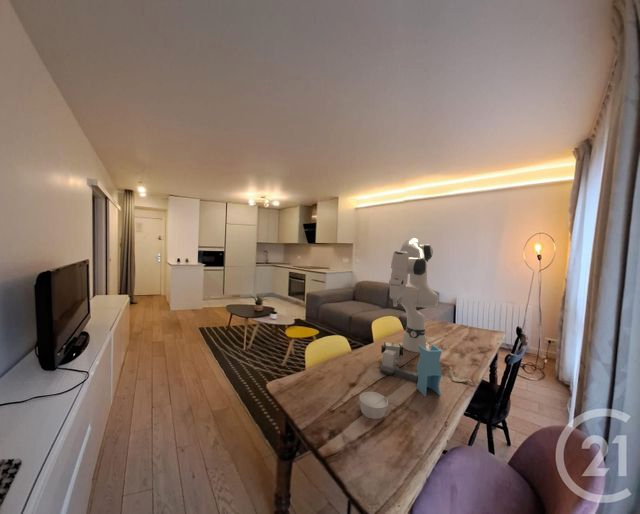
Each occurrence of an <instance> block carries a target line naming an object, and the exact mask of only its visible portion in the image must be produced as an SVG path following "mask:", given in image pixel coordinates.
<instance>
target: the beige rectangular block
mask: <svg viewBox="0 0 640 514" xmlns="http://www.w3.org/2000/svg"><path fill="white" fill-rule="evenodd" d="M382 363H383V364H382ZM382 363H381V364H382V366H384V367H388V368H391V369H393V368H394V367H395V365H396V366H397V358H396V352H395V351H391V350H387V349H386V350H385V351H384V352H383V353H382Z"/></svg>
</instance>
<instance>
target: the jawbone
mask: <svg viewBox="0 0 640 514" xmlns="http://www.w3.org/2000/svg"><path fill="white" fill-rule="evenodd" d="M448 368H449V371H448V372H447V375H448V377H449V379H450V381H451V382H454V383H463V384H466V385H468V384H469V382H470V383H471V384H472V383H474V381H473V380H471V379H470V378H459V377H457V376H456V374H455V371H453V370H454V369H453V366H451V365H449V367H448ZM474 384H475V383H474Z"/></svg>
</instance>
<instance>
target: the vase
mask: <svg viewBox="0 0 640 514" xmlns="http://www.w3.org/2000/svg"><path fill="white" fill-rule="evenodd" d="M430 346H431V347H430V349H429V350H426V349H425V348H423V347H422V346H420V345H418V347H419V352H418V353H419V359H418V363H417V364H416V373H418V382H416V389H417V390H418V391H419V392H420V393H421V394H422V396H424V397H426V396H427V388H429V389H431V390H433V391H434V392H435V393H436V394H437V395H439V396H441V391H440V383H441V382H440V381H441V379H442V376H443V373H442V369H441V364H440V359H441V355H442V352H443V350H442V349H441V348H439V347H437V346H436V345H434V344H431V345H430Z"/></svg>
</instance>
